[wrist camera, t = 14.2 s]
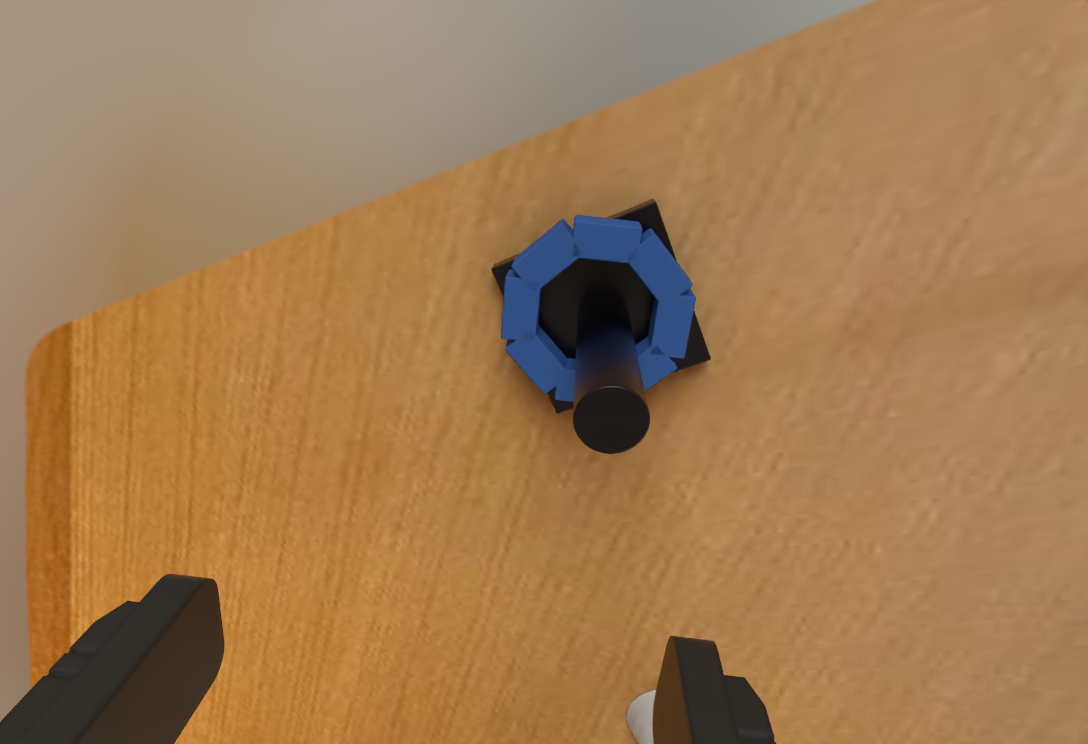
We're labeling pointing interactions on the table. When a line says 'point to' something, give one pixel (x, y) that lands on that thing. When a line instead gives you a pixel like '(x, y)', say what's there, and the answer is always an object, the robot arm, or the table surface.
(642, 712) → the chalice
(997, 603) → the table surface
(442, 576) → the table surface
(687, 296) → the ring
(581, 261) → the black peg stand
